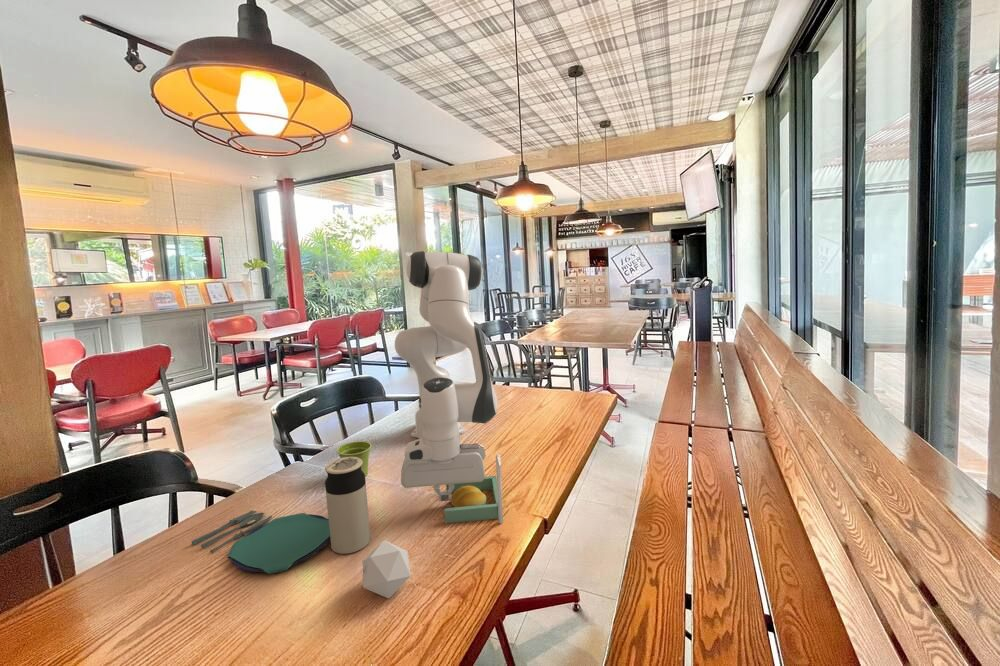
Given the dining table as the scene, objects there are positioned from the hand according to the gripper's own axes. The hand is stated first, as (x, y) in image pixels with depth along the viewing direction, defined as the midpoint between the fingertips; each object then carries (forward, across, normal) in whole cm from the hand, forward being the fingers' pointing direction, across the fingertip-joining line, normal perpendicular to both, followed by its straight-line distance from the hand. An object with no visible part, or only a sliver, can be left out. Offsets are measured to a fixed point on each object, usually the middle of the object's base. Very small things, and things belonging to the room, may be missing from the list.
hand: (445, 499), depth 107 cm
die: (+2, +10, +27) cm, 29 cm away
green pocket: (+2, -7, +3) cm, 8 cm away
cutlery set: (+2, +38, +8) cm, 39 cm away
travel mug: (+2, +20, +12) cm, 23 cm away
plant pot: (+2, +26, -21) cm, 33 cm away
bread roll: (+2, -6, 0) cm, 6 cm away
